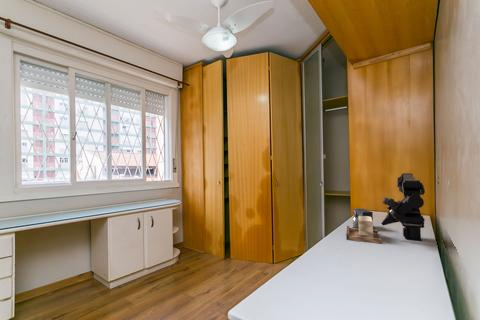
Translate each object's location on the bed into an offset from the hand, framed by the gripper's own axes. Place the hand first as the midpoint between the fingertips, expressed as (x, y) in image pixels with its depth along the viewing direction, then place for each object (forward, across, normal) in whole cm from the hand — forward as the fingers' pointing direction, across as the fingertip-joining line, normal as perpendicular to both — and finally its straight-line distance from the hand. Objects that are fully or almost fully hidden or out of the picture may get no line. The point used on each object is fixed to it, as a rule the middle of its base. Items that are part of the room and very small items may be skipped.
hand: (382, 224), depth 116 cm
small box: (+11, -19, 0) cm, 22 cm away
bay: (+11, 0, -1) cm, 11 cm away
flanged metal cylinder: (+13, -14, -3) cm, 20 cm away
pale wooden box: (+10, 0, 0) cm, 10 cm away
